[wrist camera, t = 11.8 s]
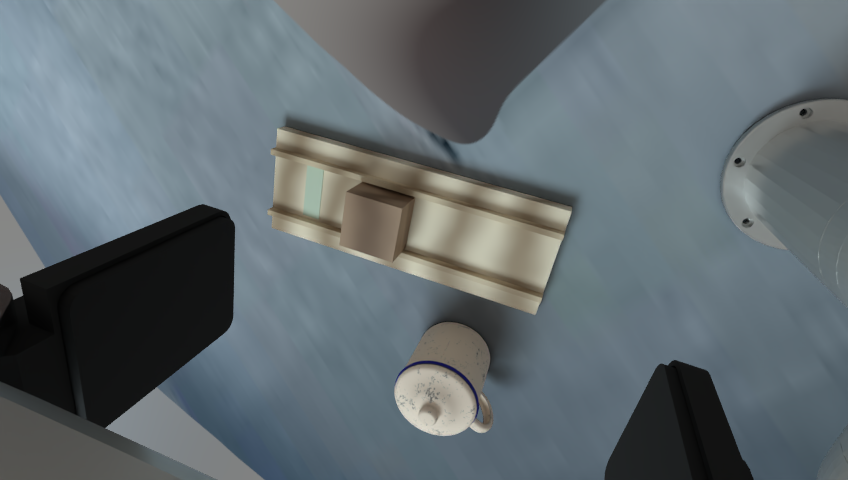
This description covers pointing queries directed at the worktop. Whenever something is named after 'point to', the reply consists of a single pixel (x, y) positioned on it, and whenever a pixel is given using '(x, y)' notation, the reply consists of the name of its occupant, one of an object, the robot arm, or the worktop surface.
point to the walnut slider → (376, 221)
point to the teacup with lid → (446, 381)
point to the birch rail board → (424, 218)
